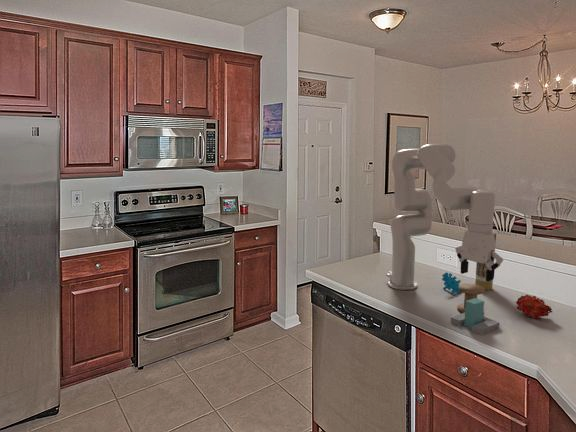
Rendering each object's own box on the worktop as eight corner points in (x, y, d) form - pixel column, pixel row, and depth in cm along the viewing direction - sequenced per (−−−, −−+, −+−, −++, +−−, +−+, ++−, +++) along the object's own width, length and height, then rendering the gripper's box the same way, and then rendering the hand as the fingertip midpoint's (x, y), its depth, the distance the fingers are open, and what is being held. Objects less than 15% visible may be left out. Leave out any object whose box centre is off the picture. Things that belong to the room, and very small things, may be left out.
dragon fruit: (512, 314, 165) (547, 328, 157) (509, 308, 159) (545, 322, 151) (521, 294, 166) (556, 307, 159) (518, 287, 160) (555, 300, 152)
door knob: (452, 309, 167) (453, 286, 165) (467, 304, 171) (468, 282, 170) (473, 317, 159) (474, 293, 158) (488, 311, 164) (489, 288, 162)
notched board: (450, 322, 155) (451, 317, 155) (468, 316, 160) (468, 311, 160) (481, 335, 145) (481, 329, 145) (499, 327, 150) (499, 322, 150)
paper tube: (493, 291, 185) (498, 233, 180) (476, 290, 186) (480, 233, 182) (490, 286, 192) (494, 230, 187) (473, 285, 193) (477, 229, 188)
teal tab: (464, 325, 153) (465, 300, 151) (473, 322, 155) (475, 298, 154) (473, 329, 150) (474, 304, 148) (482, 325, 152) (484, 301, 151)
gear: (452, 293, 179) (440, 272, 184) (442, 300, 183) (430, 279, 188) (468, 291, 185) (456, 270, 190) (458, 297, 189) (446, 277, 194)
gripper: (451, 224, 151) (448, 272, 155) (497, 234, 137) (493, 286, 140) (464, 222, 155) (461, 268, 159) (511, 231, 141) (506, 281, 144)
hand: (476, 276), depth 149 cm, fingers open, 9 cm apart
